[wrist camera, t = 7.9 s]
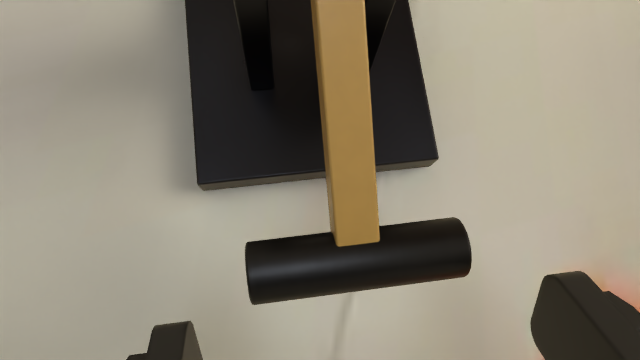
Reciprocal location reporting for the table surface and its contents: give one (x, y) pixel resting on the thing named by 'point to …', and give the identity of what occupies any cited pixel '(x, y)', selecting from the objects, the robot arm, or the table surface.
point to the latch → (351, 192)
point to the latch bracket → (294, 91)
